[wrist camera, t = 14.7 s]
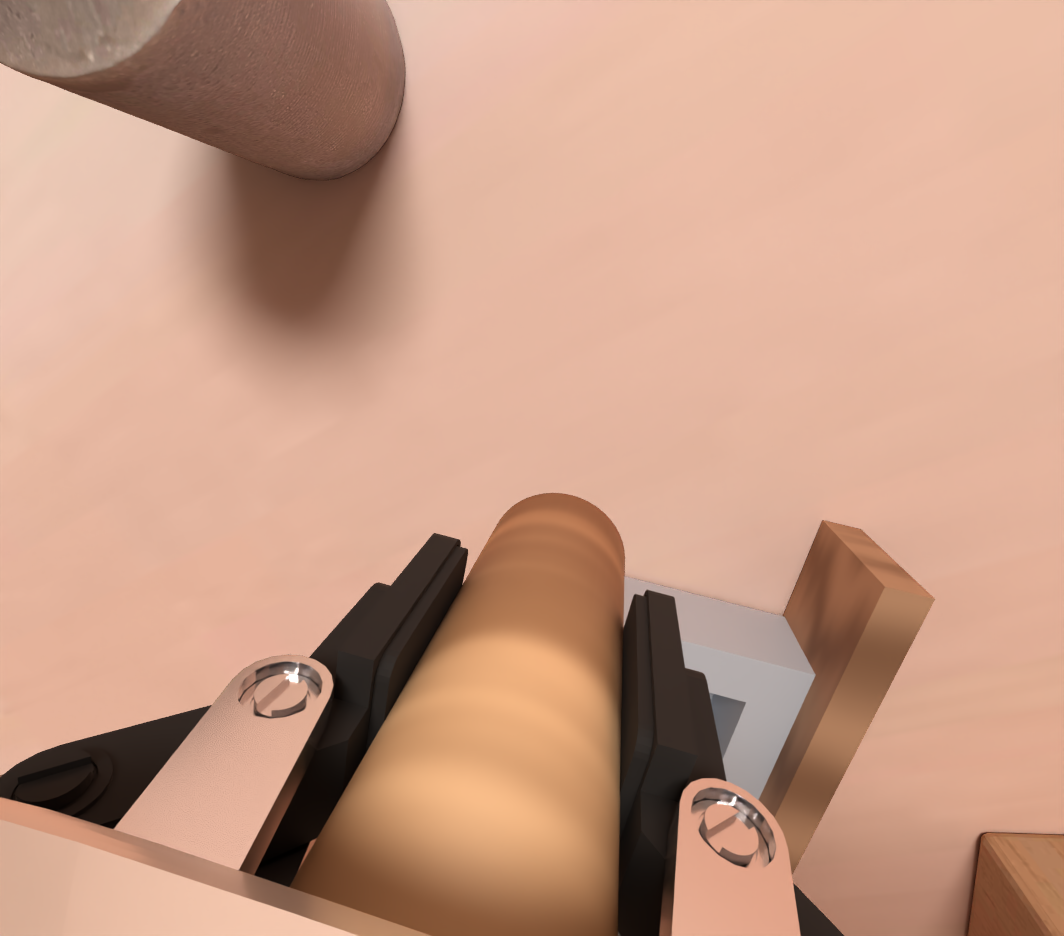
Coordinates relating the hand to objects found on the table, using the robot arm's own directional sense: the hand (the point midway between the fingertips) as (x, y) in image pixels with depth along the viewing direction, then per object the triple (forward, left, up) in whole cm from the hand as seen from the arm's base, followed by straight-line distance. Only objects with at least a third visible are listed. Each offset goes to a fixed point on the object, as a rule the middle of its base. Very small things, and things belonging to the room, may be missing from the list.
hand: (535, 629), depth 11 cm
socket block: (+13, +9, -19) cm, 25 cm away
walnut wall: (+13, +14, -19) cm, 27 cm away
